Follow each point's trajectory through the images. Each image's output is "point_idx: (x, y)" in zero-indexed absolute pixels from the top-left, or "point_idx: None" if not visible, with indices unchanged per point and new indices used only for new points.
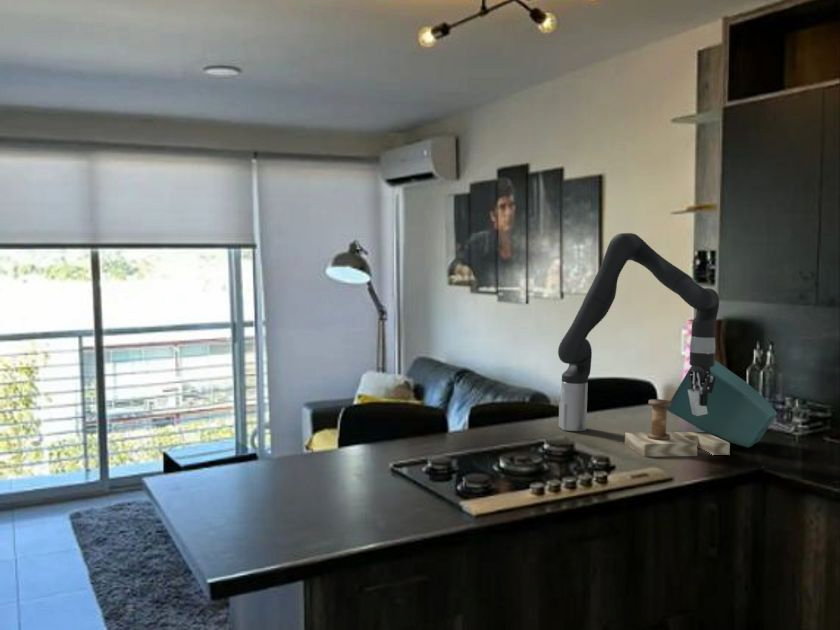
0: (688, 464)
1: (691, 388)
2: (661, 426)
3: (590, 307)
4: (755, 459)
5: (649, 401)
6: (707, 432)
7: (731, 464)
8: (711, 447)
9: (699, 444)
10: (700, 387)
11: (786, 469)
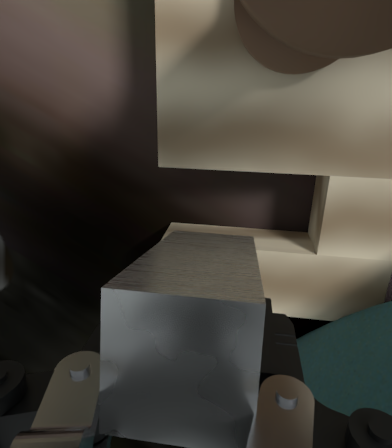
0: (41, 47)
1: (362, 411)
2: None
3: None
4: None
5: None
6: (341, 318)
7: (57, 217)
8: None
9: (288, 237)
10: (74, 425)
11: (18, 336)
